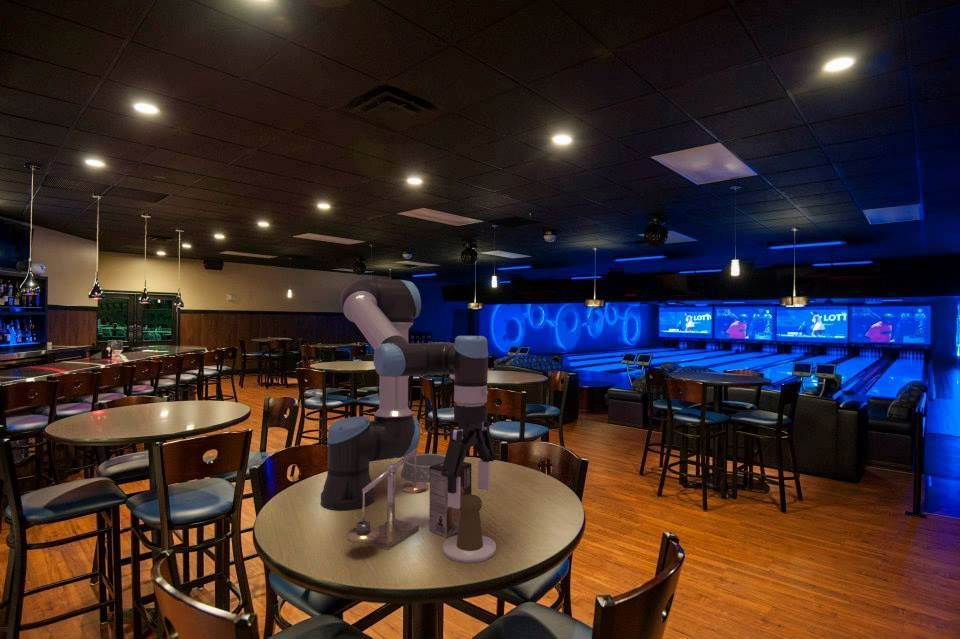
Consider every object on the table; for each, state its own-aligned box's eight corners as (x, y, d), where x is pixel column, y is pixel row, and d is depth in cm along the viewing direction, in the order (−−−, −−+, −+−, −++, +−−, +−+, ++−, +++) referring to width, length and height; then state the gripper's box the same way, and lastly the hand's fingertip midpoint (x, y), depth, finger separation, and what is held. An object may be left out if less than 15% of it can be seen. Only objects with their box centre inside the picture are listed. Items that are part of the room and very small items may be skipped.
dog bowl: (463, 472, 172) (463, 457, 172) (431, 486, 157) (432, 469, 157) (424, 465, 181) (424, 450, 181) (390, 478, 165) (390, 461, 166)
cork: (462, 537, 116) (462, 490, 116) (486, 541, 113) (487, 493, 114) (452, 548, 110) (452, 498, 110) (477, 552, 108) (478, 502, 108)
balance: (338, 554, 109) (339, 468, 109) (410, 515, 132) (411, 443, 132) (366, 563, 105) (367, 473, 105) (435, 521, 128) (436, 447, 129)
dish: (432, 554, 109) (432, 549, 109) (460, 535, 120) (460, 530, 120) (479, 567, 104) (479, 562, 104) (504, 545, 114) (504, 540, 114)
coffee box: (453, 520, 129) (454, 458, 129) (472, 526, 125) (472, 463, 125) (428, 531, 122) (428, 465, 122) (446, 538, 118) (447, 470, 118)
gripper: (456, 413, 99) (454, 519, 99) (509, 398, 121) (508, 484, 121) (425, 410, 103) (424, 512, 103) (482, 395, 125) (481, 480, 125)
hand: (469, 497), depth 112 cm, fingers open, 13 cm apart
